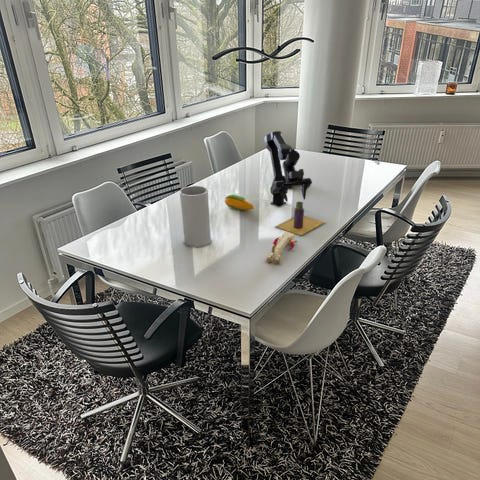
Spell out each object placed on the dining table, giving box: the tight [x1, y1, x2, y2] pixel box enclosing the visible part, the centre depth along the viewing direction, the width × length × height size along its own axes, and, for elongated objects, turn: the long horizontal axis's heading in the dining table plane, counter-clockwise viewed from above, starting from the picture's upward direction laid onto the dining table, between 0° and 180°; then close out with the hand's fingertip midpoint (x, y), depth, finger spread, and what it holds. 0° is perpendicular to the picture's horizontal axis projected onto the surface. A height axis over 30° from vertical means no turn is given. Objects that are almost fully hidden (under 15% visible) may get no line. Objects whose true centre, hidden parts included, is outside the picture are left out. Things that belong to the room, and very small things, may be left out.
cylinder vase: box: [179, 185, 212, 248], centre depth 211 cm, size 12×12×25 cm
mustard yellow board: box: [275, 215, 325, 237], centre depth 231 cm, size 20×16×1 cm
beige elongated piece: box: [266, 231, 298, 265], centre depth 205 cm, size 10×9×25 cm
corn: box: [224, 194, 255, 212], centre depth 248 cm, size 7×8×20 cm
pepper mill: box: [293, 201, 305, 229], centre depth 225 cm, size 5×5×12 cm
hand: (295, 200), depth 226 cm, fingers open, 9 cm apart
